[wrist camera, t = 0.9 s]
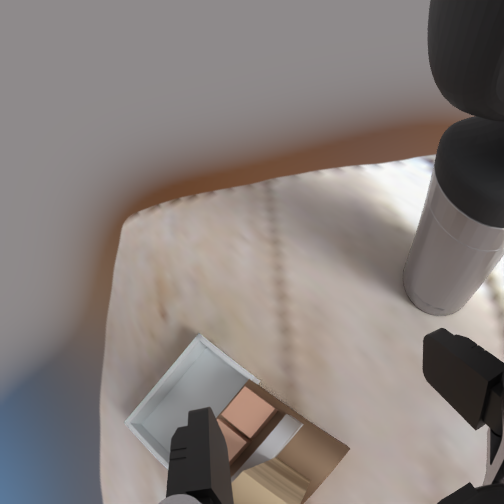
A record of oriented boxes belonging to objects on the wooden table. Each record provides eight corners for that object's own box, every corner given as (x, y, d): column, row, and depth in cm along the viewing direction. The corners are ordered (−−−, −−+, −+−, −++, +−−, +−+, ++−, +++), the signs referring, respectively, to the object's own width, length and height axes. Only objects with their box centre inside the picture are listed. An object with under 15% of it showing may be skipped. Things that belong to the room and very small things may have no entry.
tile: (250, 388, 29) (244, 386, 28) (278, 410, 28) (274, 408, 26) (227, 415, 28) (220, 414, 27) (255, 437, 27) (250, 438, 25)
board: (257, 384, 33) (248, 378, 30) (348, 446, 28) (350, 448, 24) (185, 467, 30) (169, 470, 26) (268, 534, 24) (260, 545, 20)
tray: (208, 340, 37) (199, 332, 35) (260, 380, 33) (254, 376, 31) (137, 424, 33) (123, 422, 31) (182, 470, 29) (170, 472, 27)
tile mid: (224, 419, 28) (217, 418, 27) (252, 441, 27) (246, 442, 25) (202, 444, 27) (194, 444, 26) (229, 467, 26) (222, 469, 24)
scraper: (290, 415, 27) (265, 405, 17) (338, 447, 25) (343, 458, 15) (211, 503, 24) (148, 530, 14) (255, 536, 21) (211, 583, 11)
